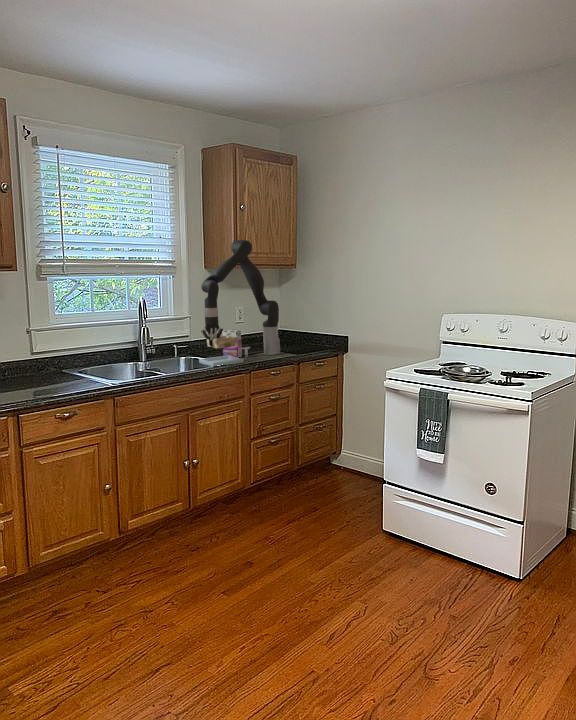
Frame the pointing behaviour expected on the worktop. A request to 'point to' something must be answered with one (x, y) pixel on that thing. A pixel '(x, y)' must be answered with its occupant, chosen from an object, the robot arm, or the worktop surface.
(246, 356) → the steel T-stake
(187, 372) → the worktop surface
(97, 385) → the worktop surface
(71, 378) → the worktop surface
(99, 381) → the worktop surface
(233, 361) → the tray
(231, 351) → the candy bar box
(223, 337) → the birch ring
